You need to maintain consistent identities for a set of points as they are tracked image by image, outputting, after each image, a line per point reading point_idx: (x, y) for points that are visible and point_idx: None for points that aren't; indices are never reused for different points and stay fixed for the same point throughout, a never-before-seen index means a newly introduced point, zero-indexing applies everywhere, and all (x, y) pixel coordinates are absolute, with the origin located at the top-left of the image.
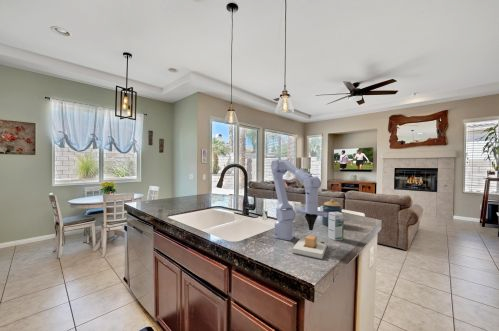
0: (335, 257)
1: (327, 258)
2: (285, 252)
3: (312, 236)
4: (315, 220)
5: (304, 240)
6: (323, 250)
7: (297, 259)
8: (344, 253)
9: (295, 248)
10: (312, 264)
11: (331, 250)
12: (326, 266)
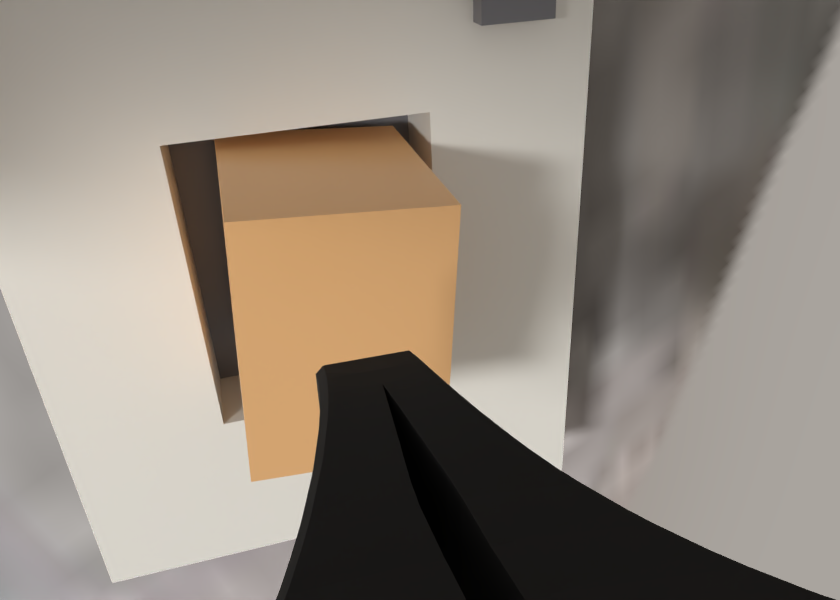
0: (681, 258)
1: (586, 352)
2: (7, 556)
3: (371, 300)
4: (660, 553)
5: (79, 97)
6: (566, 358)
7: (266, 597)
8: (819, 22)
9: (157, 564)
10: None
11: (632, 16)
12: None
